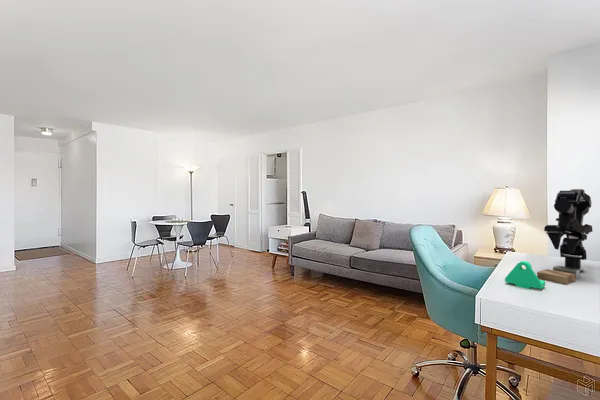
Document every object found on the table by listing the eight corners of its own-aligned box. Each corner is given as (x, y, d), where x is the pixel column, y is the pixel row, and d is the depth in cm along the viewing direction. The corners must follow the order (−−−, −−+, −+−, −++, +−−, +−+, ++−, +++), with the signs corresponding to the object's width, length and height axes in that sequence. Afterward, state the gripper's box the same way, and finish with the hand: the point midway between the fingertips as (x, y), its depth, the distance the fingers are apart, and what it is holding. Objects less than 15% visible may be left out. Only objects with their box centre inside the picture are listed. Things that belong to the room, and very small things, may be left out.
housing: (556, 274, 140) (557, 265, 140) (579, 278, 133) (579, 268, 133) (552, 276, 137) (553, 266, 137) (575, 280, 131) (576, 270, 131)
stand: (547, 275, 137) (547, 268, 137) (575, 281, 129) (575, 274, 128) (536, 278, 132) (537, 271, 132) (565, 284, 124) (565, 277, 124)
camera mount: (545, 287, 121) (546, 262, 121) (541, 291, 116) (541, 265, 116) (510, 280, 130) (510, 257, 130) (504, 284, 125) (505, 259, 125)
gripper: (573, 211, 126) (570, 248, 124) (602, 221, 131) (600, 257, 129) (544, 212, 137) (541, 246, 135) (573, 221, 142) (570, 254, 140)
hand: (564, 251), depth 134 cm, fingers open, 9 cm apart
